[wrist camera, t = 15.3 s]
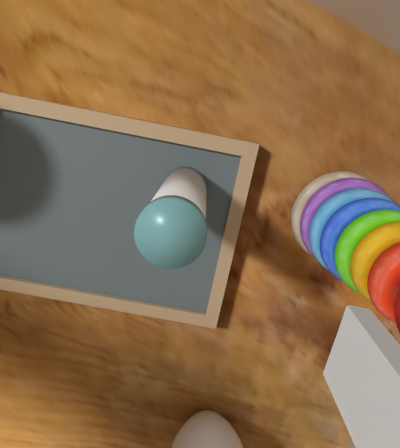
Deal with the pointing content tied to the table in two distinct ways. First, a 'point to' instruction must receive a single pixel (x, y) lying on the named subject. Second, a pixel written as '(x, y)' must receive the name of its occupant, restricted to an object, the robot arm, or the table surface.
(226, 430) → the cup
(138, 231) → the teal and white cylinder
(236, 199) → the board
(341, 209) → the stacking toy
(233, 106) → the table surface
